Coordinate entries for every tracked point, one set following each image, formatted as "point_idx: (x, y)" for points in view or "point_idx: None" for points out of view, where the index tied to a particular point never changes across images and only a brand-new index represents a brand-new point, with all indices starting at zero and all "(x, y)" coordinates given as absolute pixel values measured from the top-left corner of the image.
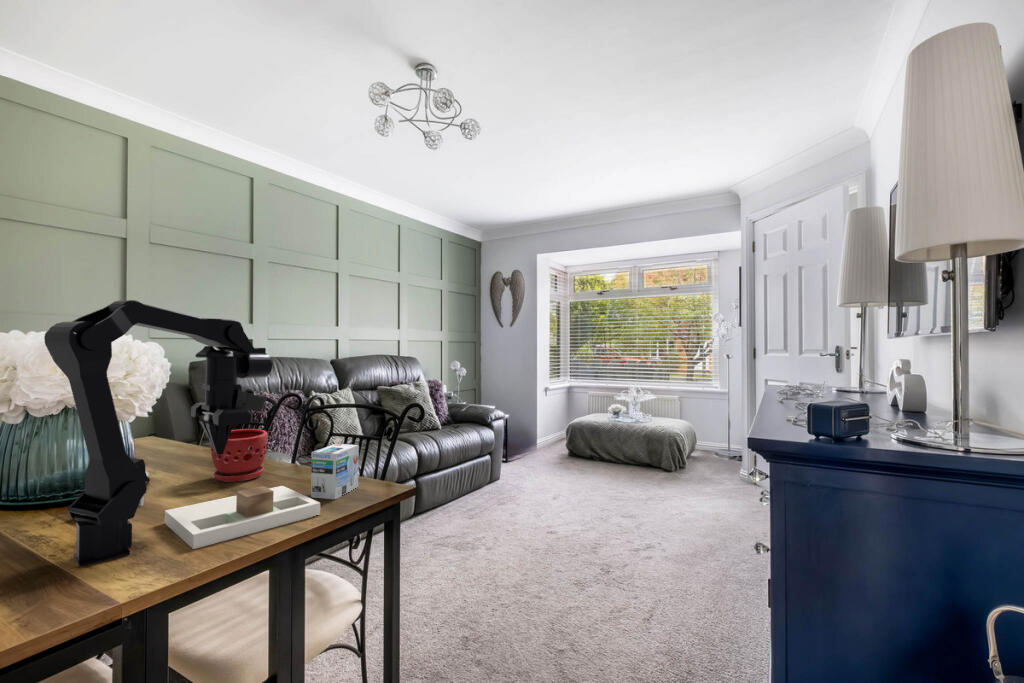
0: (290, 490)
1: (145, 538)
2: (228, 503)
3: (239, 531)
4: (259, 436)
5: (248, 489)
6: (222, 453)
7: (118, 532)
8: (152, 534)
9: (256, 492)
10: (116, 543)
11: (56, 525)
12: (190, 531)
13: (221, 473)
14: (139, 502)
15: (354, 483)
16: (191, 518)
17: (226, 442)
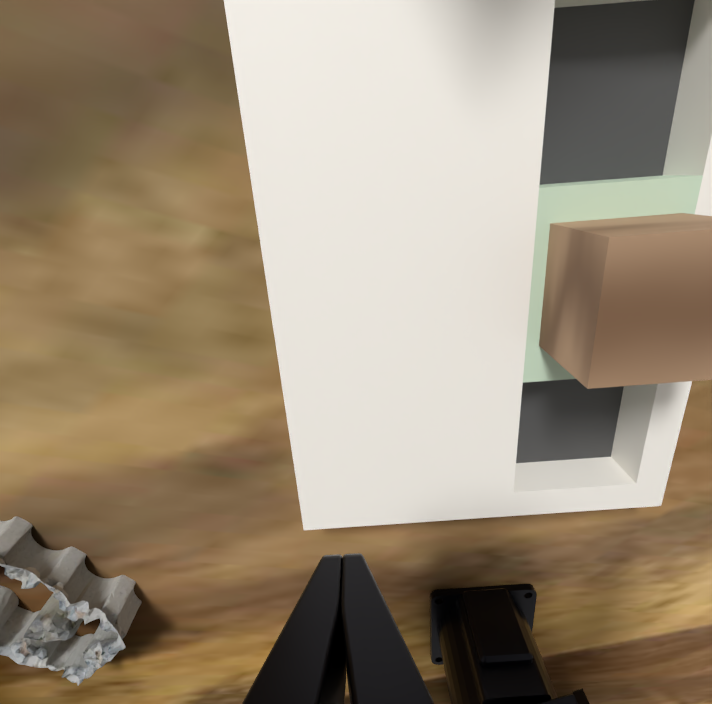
0: None
1: (420, 546)
2: (383, 339)
3: None
4: None
5: (603, 329)
6: (361, 560)
7: (542, 665)
8: (398, 531)
9: (707, 313)
10: (532, 637)
11: (130, 675)
12: (618, 506)
13: None
14: (20, 537)
15: None
16: (479, 483)
17: (413, 660)
